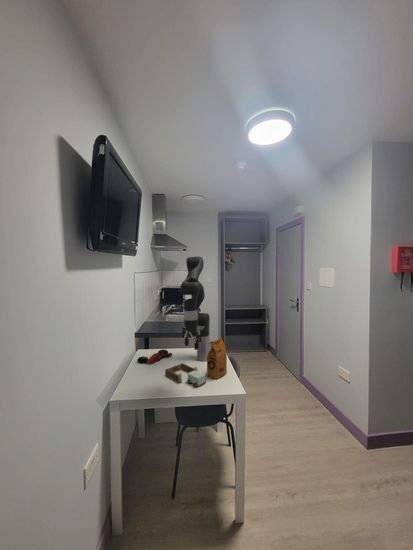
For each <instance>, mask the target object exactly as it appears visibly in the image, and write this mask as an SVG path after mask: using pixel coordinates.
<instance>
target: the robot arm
mask: <svg viewBox="0 0 413 550" xmlns="http://www.w3.org/2000/svg"><path fill="white" fill-rule="evenodd" d="M204 264H205V262H204V258H203V257H202V256H188V257H187V258H186V269H187V275H186V278H185V279H183V281H182V282H181V284H180V288H179V291H180V293H181V295H183V296H191V297H190V298H187V299H184V301H183V307H184V309H183V311H184V313H183V327H182V328H181V337H182V339H184V346H185V347H188V346H190V344H189V343H190V339H189V337H190V338H191V339H192V340H193V343H194V347H193V348H194V350H195V351H196V359H197V360H198V361H200V362H207V355H208V353H209V351H210V349H211V346H212V345H211V343H210V314H209V313H208V312H200V311H199V310H200V307H201V305H202V303H203V302H204V299H205V296H206V294H205V288H204V287H205V286H203V284H202V282H201V281H199V277H200V275H201V274H202V271H203V269H204ZM198 327H203V328H202V329H199V330H197V328H198Z"/></svg>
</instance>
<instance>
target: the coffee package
mask: <svg viewBox="0 0 413 550" xmlns="http://www.w3.org/2000/svg"><path fill="white" fill-rule="evenodd" d="M209 344H211V345H210V346H211V349H210V351H209V353H208V355H207V361H206V375H207V376H208V377H210V378H213V379H214V380H218V379H220V378H221V377H224V376H225V375H226V373H227V372H228V371H227V370H228V369H227V368H228V367H227V363H228V361H227V360H228V359H227V350H226V349H227V348H226V346H225V343H224V341H223V338H222V337H221V336H219V337H218V338H217V340H211V341H209Z"/></svg>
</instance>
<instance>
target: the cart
mask: <svg viewBox="0 0 413 550" xmlns="http://www.w3.org/2000/svg"><path fill="white" fill-rule="evenodd" d="M186 383H187V384H191V383H192V384H193V387H195V388H197V387H198V386H200V385H203V384H206V383H207V381H206V375H205V374H204V373H202V372H199V371H198V370H197V371H195V370H194V371H192V372H190V373H189V372H187V380H186Z"/></svg>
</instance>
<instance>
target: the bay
mask: <svg viewBox="0 0 413 550" xmlns="http://www.w3.org/2000/svg"><path fill="white" fill-rule="evenodd" d="M182 370H183V371H184V372H187V373H190V372H192V371H194V370H195V371H197V372H198V367H197V366H194V367H192V366H190V365H187V364H186V363H180V364H176V365H173V366H171V367H169V368H166V369H165V373H164V374H165V376H166V377H168V378H170V379H172V380H173V381H175V382H177V383H178V384H182V382H183V381H182V380H183V379H182V373H180V372H179V371H182ZM177 372H179V373H177Z"/></svg>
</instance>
